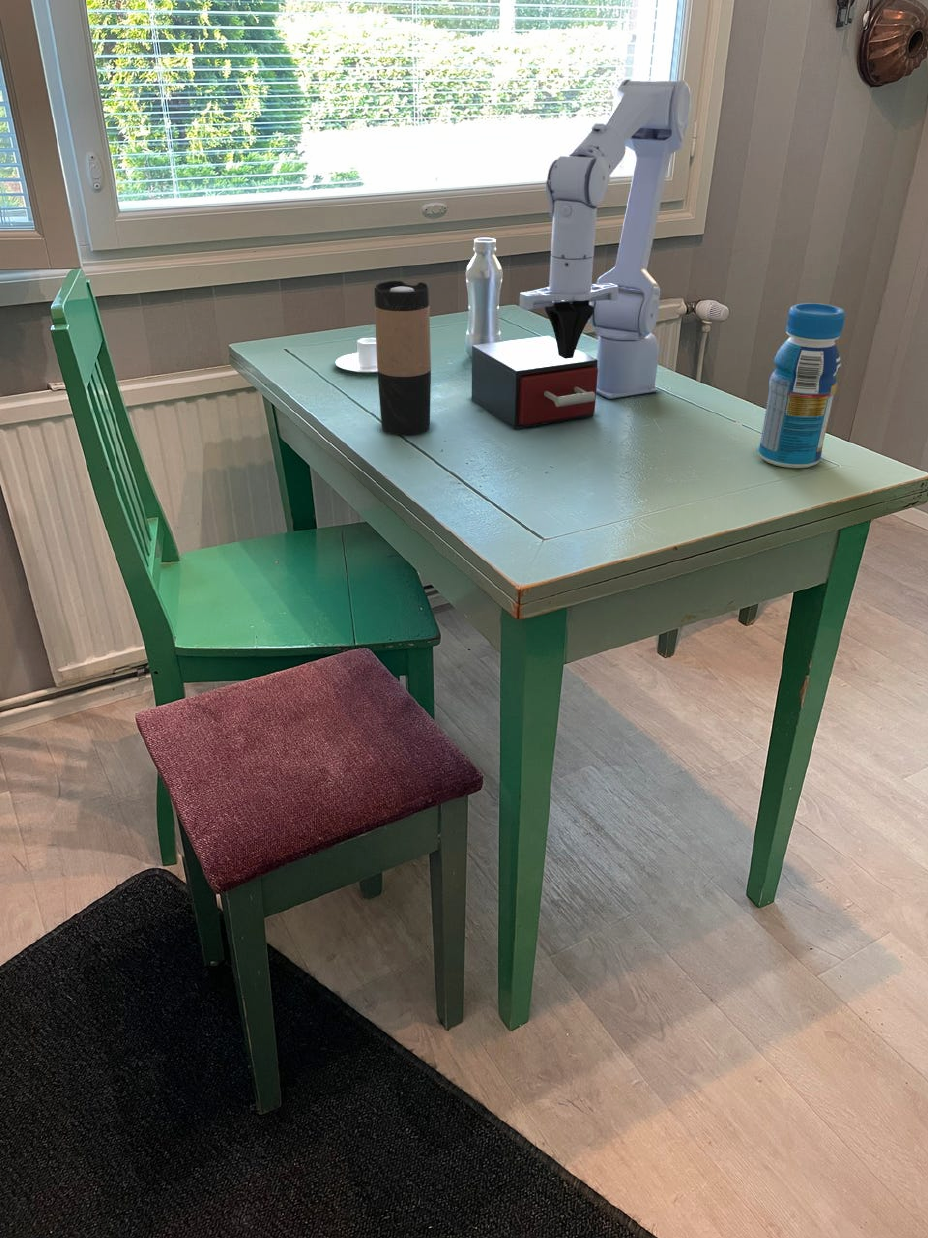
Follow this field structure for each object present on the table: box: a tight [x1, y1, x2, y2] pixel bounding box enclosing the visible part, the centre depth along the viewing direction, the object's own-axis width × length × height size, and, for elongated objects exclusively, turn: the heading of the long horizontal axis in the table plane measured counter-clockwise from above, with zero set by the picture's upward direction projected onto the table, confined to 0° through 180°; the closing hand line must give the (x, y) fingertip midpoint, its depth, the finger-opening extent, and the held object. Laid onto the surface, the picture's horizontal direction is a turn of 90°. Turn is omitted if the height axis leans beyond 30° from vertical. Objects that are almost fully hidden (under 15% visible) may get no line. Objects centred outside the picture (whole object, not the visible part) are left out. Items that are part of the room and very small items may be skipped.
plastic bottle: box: [464, 237, 504, 359], centre depth 163 cm, size 6×7×20 cm
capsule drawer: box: [519, 367, 598, 425], centre depth 140 cm, size 18×12×7 cm
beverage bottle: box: [758, 302, 846, 469], centre depth 123 cm, size 8×8×20 cm
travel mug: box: [373, 280, 432, 437], centre depth 133 cm, size 8×8×20 cm
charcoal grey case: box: [471, 335, 598, 430], centre depth 143 cm, size 15×14×9 cm
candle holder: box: [335, 337, 378, 374], centre depth 163 cm, size 12×12×4 cm
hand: (565, 356), depth 133 cm, fingers closed
